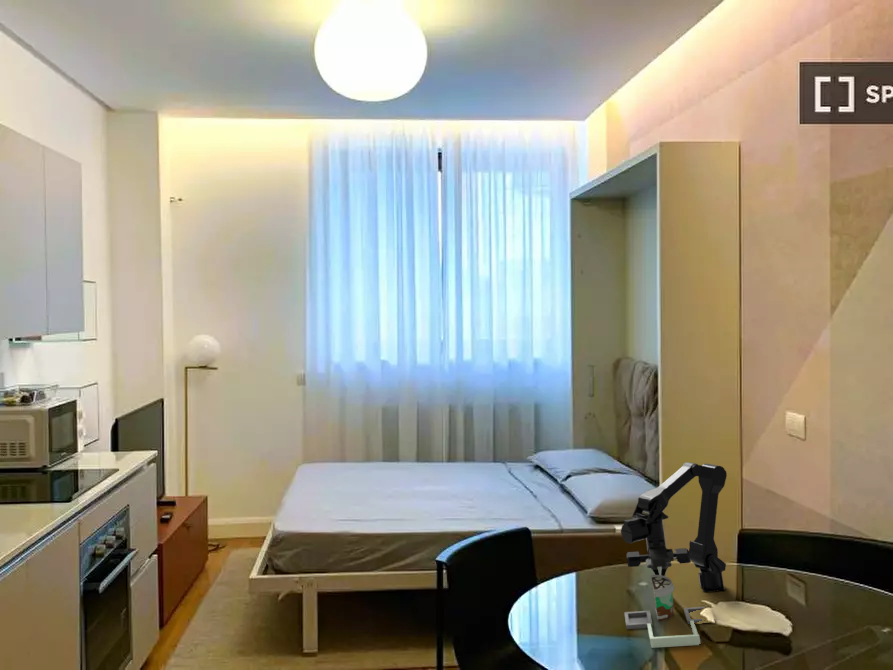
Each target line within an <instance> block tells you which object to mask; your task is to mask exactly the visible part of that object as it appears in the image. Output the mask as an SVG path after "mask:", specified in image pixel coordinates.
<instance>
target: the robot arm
mask: <svg viewBox="0 0 893 670" xmlns="http://www.w3.org/2000/svg"><path fill="white" fill-rule="evenodd" d="M727 476H728V475H727V471H726V469H725V468H724V466H722V465H718V464H711V463H704V464H702V465H700V464H697V463H695V462H689V461H687V462H684V463H683V464H682V466H681V467H679V469H678V470H676V471H675V472H674V473H673V474H671V476H669V477H668V478H667V479H666V480H665V481H664V482H663V483H661V484H660V485H659V486H657V487H655V488H653V489H650V490H649V489H648V490H647V491H645V492H644V493H642V494H641V495H639V497H637V498H638V499H637V504H636V506H635V509H634V511H633V514H632V518H631V519H625V520H623V525H621V529H620V534H621V537H622V539H623V540H624V542H625V543H627V544H633V543H635V542H639V541H643V540H645V541H646V550H647V554H640V551H628V552H626V554H625V555H626V562H627V563H626V564H627V567H629V568H633V567H635V568H636V567H639V566H640V565H641V562H645V563H646V568H648V569H651V570H652V572H653V573H654V575H662V576H666V572H667V571H668V568H669V567H670V568H671V567H672V562H673V561H674V560H676V562H678V563H679V564H680V565H682V564H691V562H692V563H693V564H694V566H695V568H697V569H699V572H698V580H699V586H700V589H702V591H703V592H704V593H709V592H708V591H713V592H718V591H717V590H725V591H726V588H725V585H724V579H723V572H725V571H726V568H727V563H725V562H724V560H722V559H721V558H719V554H718V553H719V550H718V548H717V544H716V541H715V530H716V520H717V510H718V503H719V494H720V493H721V491H722V490H723V489H724V487H725V484H726V480H727ZM695 477H698V483H699V487H700V489H701V500H700V509H699V518H698V529H697V535H696V538H695V539H694V540H690V541H689V544H688V545H689V549H688V548H687V547H682V548H674V551H673V548H667V543H666V535H665V527H664V521H663V520H667V519H669V515H667V514H666V513H664V511H665V509H666V508H667V507H668V504H669V501H670V500H671V498H673V497H674V496H675V495H676V494H677V493H678V492H679V491H680V490H681V489H683V488H684V487H685V486H686V485H688V483H690V482H692V480H693V479H694V478H695ZM645 513H646V514H645ZM659 569H660V570H659ZM659 571H660V572H659ZM706 591H707V592H706Z"/></svg>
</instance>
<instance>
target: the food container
mask: <svg viewBox="0 0 893 670" xmlns="http://www.w3.org/2000/svg"><path fill="white" fill-rule="evenodd" d="M650 581H651V587H652V588H651V589H652V594H653V601H654V609H655V612H656V613H655V614H656V618H657V621H658V622H664V621H668V620H671V619H672V618H673V617H674V616H675V611H674V596H673V595H674V594H673V592H674V591H675V585H674V583H673V580H671V578H669V577H668V576H666V575H665V576H662V575H661V574H659V575H655V574H650Z"/></svg>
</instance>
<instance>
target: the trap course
mask: <svg viewBox="0 0 893 670" xmlns="http://www.w3.org/2000/svg"><path fill="white" fill-rule="evenodd" d="M705 607H706V606H697V607H696V606H694V607H684V608H683V613H684V615H685V618H686V622H687V625H688V624H690V625H691V626H690V625H689V626H690V628H692V629H691V631H692V634H681V635H666V636H665V635H664V636H654V634H653V627H654V626H653V625H654V624H653V620H652V615H651V611H650V610H641V611H640V610H639V611H624V613H623V614H624V619H625V627H626V630H634V629H638V630H639V629H647V633H648V638H649V643H650V647H651V649H655V648H670V647H673V648H674V647H685V646H686V647H687V646H700V645H699V644H701V638H700V634H699V633H698V630H697V627H696V625H695V624H694V623H697V622H699V621H702V619H691V618H690V615H689V613H690V612H693V611H696V610H701V609H703V608H705Z"/></svg>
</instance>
